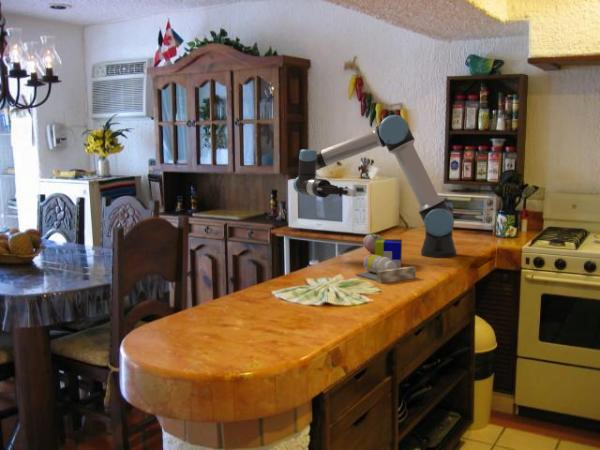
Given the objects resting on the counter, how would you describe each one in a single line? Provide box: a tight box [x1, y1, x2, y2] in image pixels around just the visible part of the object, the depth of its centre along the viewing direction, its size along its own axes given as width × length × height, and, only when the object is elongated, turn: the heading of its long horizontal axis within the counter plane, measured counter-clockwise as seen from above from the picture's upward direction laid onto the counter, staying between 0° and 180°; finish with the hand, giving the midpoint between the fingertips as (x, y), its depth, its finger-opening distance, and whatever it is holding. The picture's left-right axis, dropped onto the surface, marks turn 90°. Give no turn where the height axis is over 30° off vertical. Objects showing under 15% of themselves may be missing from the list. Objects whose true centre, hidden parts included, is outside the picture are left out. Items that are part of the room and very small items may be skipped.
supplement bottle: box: [363, 253, 396, 273], centre depth 228 cm, size 7×7×13 cm
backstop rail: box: [376, 265, 416, 284], centre depth 220 cm, size 16×2×4 cm, turn 121°
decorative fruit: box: [362, 233, 383, 255], centre depth 276 cm, size 9×8×10 cm
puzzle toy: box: [374, 238, 403, 268], centre depth 248 cm, size 10×10×10 cm
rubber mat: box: [355, 271, 377, 282], centre depth 227 cm, size 14×14×1 cm
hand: (354, 193), depth 241 cm, fingers closed
